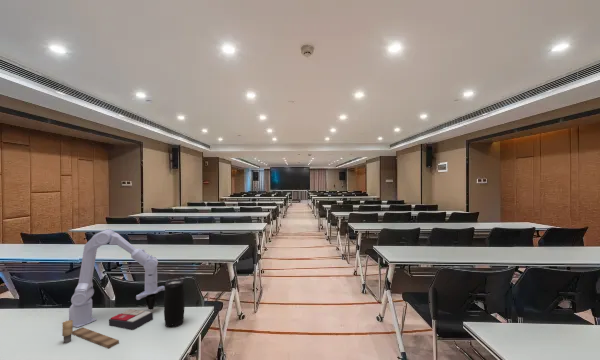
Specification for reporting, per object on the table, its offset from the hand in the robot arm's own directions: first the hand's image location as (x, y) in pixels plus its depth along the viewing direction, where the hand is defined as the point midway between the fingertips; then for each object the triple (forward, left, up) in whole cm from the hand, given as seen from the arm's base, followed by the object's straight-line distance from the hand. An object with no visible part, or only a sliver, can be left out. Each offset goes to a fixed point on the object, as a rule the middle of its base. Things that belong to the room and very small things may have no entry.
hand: (150, 308), depth 140 cm
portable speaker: (+21, -4, -2) cm, 21 cm away
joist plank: (+1, -27, -2) cm, 27 cm away
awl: (-7, -33, -2) cm, 33 cm away
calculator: (+1, -11, -2) cm, 11 cm away
